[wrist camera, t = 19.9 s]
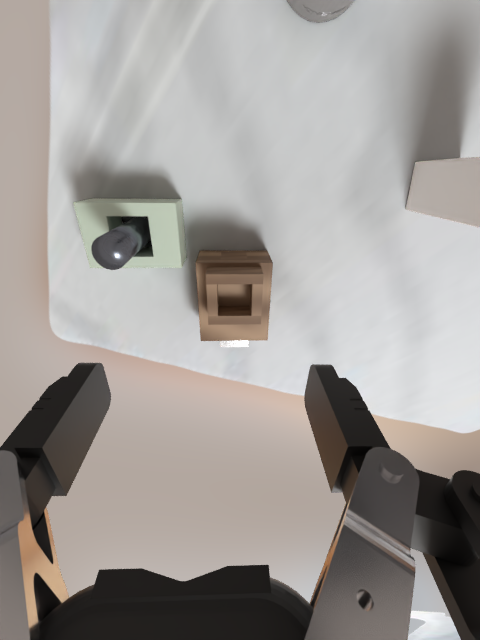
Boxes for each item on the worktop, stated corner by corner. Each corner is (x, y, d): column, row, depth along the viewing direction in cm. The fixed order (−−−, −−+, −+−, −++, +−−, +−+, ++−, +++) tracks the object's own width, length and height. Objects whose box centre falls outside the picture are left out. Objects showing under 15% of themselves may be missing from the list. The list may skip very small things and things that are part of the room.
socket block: (199, 250, 41) (192, 270, 33) (267, 250, 41) (276, 270, 33) (204, 321, 47) (199, 352, 39) (263, 320, 47) (269, 351, 39)
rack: (91, 198, 37) (73, 202, 33) (181, 198, 38) (175, 203, 33) (104, 257, 41) (90, 268, 37) (186, 257, 41) (181, 267, 37)
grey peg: (126, 216, 38) (87, 235, 28) (152, 216, 38) (123, 235, 28) (130, 242, 40) (95, 269, 30) (155, 242, 40) (130, 269, 30)
